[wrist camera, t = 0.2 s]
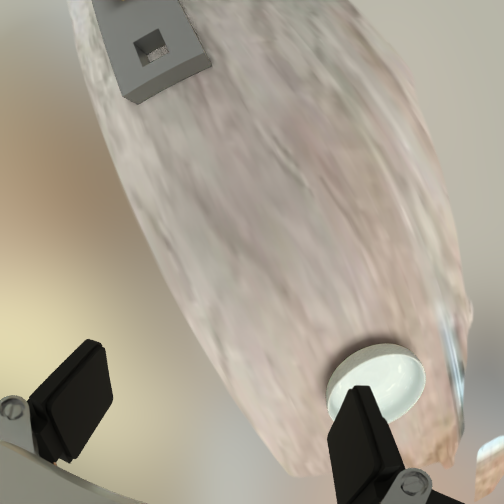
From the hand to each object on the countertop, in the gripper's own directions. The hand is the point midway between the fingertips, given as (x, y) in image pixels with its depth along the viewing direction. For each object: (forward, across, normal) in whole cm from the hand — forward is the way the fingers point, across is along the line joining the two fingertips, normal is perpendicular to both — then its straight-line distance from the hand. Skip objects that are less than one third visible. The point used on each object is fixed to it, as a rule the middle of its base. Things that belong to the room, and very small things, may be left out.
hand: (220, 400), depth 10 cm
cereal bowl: (+31, -22, +20) cm, 44 cm away
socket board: (+31, +21, -30) cm, 48 cm away
